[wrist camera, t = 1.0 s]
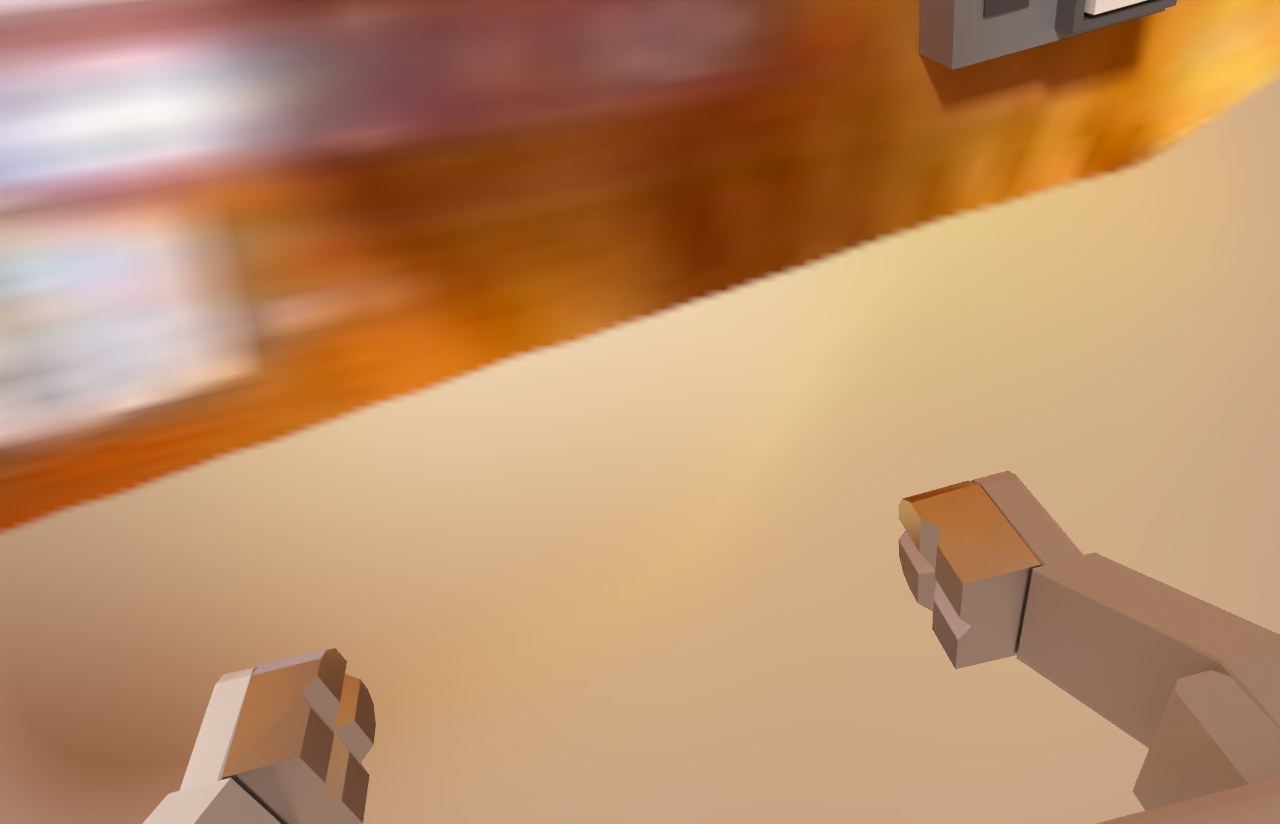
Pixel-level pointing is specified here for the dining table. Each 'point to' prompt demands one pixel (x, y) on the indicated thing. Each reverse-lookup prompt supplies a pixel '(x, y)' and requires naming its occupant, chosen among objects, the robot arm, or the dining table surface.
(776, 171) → the dining table surface
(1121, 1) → the button
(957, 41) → the button box
